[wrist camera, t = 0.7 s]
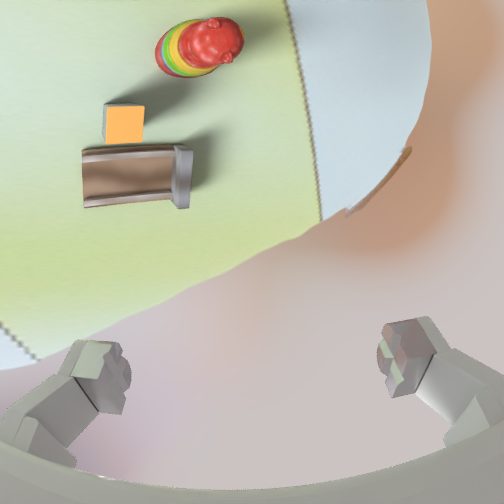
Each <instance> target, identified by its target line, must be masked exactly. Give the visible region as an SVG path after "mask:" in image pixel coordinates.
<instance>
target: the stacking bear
mask: <svg viewBox="0 0 504 504" xmlns="http://www.w3.org/2000/svg"><path fill="white" fill-rule="evenodd" d="M243 44H244V33H243V31H242V29H241V28H240V26H239V25H238V24H237V23H235V22H234V21H233V20H231V19H228V18H224V17H216V18H211V19H208V20H189V21H185V22H182V23H180V24H178V25H176V26H175V27H173V28H171V29H170V30H169V31H167V32H166V33H165V34H164V35H163V36H162V38H161V39H160V40H159V42H158V44H157V46H156V50H155V58H156V61H157V64H158V65H159V67H160V68H161V69H162V70H163V71H164V72H165V73H167V74H169V75H172V76H176V77H182V78H192V77H198V76H202V75H206V74H208V73H210V72H212V71H213V70H214V68H216V67H217V66H219V65H220V64H224V63H232V61H233V59H234V58H235V57H236V56H238V54H239V53H240V52H241V50H242V48H243Z"/></svg>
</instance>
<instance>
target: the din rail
mask: <svg viewBox="0 0 504 504" xmlns="http://www.w3.org/2000/svg"><path fill="white" fill-rule="evenodd" d="M193 154H194V151H193V150H191V149H189V148H188V147H186V146H184V145H147V146H127V147H112V148H99V149H88V150H82V178H83V198H84V208H90V207H99V206H107V205H116V204H125V203H135V202H145V201H156V200H168V199H170V200H171V201H172V202H173V203H174V205H175V206H176V207H177V208H178V209H186V208H189V204H190V190H191V177H192V165H193Z"/></svg>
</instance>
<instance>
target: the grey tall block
mask: <svg viewBox="0 0 504 504" xmlns="http://www.w3.org/2000/svg"><path fill="white" fill-rule="evenodd" d="M144 109H145V106H142V105H138V104H134V103H120V104H104V108H103V127H102V134H103V137H104V140H105V143H106V144H119V143H137V142H142V136H143V121H144Z"/></svg>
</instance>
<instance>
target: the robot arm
mask: <svg viewBox="0 0 504 504" xmlns="http://www.w3.org/2000/svg"><path fill="white" fill-rule="evenodd" d="M382 335H383V338H384V339H383V340H382V341H381V342H380V343H379V345H378V349H377V362H378V366H379V368H380V371H381V372H382V373H384V374H385V375H387V379H386V382H385V383H386V386H387V388H388V390H389V393H390V395H391V398H395V397H399V396H403V395H408V394H412V393H415V395H417V396H418V397H419V398H420V399H422V400H423V401H424V402H425V403H426V404H428V405H429V406H430V407H431V408H432V409H434V410H435V411H436V412H437V413H438V414H440V415H441V416H442V417H443V418H445V419H446V420H447V421H448V422H449V423H451V424H452V425H453V426H452V427H451V428H450V430H449V431H448V432H447V434H446V435H445V436H444V438H443V440H444V443H445V446H446V448H444V449H442V450H440V451H437V452H434V453H432V454H429V455H426V456H423V457H421V458H418V459H415V460H412V461H409V462H406V463H403V464H400V465H396V466H393V467H389V468H386V469H383V470H379V471H375V472H372V473H367V474H363V475H359V476H354V477H349V478H345V479H340V480H334V481H329V482H324V483H316V484H310V485H302V486H293V487H284V488H272V489H254V490H204V489H187V488H174V487H166V486H157V485H149V484H143V483H136V482H130V481H124V480H119V479H115V478H110V477H105V476H101V475H96V474H93V473H89V472H85V471H81V470H78V469H75V466H76V463H77V459H76V457H75V456H74V455H73V454H72V453H70V452H69V451H68V450H67V449H66V448H67V447H68V446H69V445H70V444H71V443H72V442H73V441H74V440H75V439H76V438H77V437H78V436H79V435H80V433H81V432H82V431H83V430H84V429H85V428H86V427H87V426H88V425H89V424H90V423H91V422H92V420H94V419H95V417H96V416H97V415H98V414H99V413H98V412H101V413H109V414H119V415H121V414H122V410H123V407H124V403H125V400H126V398H125V395H124V392H125V391H126V390H127V389H128V388H129V387H130V383H131V368H130V365H129V363H128V361H127V360H126V359H125V358H124V357H122V356H121V354H122V351H123V350H122V348H121V347H120V344H119V343H117V342H107V341H93V340H90V341H88V340H76V341H75V342H74V343H73V345H72V347H71V349H70V351H69V353H68V354H67V356H66V358H65V360H64V362H63V364H62V366H61V368H60V370H59V372H58V374H57V375H55V374H53V375H52V376H51V377H49V378H48V379H46V380H45V381H44V382H42V383H41V384H40V385H38V386H37V387H35V388H34V389H33V390H31V391H30V392H29V393H27V394H26V395H25V396H23V397H22V398H21V399H19V400H18V401H17V402H15V403H14V404H13V405H11V406H10V407H9V408H7V410H6V412H5V414H4V416H3V418H2V420H1V422H0V504H504V375H502V374H501V373H499V372H497V371H495V370H493V369H491V368H490V367H488V366H486V365H484V364H483V363H481V362H479V361H477V360H475V359H473V358H471V357H470V356H468V355H466V354H464V353H463V352H461V351H459V350H457V349H455V348H454V349H451V348H450V346H449V345H448V343H447V342H446V340H445V339H444V337H443V336H442V334H441V333H440V331H439V330H438V328H437V327H436V326H435V324H434V323H433V321H432V320H431V319H430V317H428V316H424V317H419V318H414V319H409V320H404V321H398V322H393V323H387V324H385V326H384V327H383V330H382Z"/></svg>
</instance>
